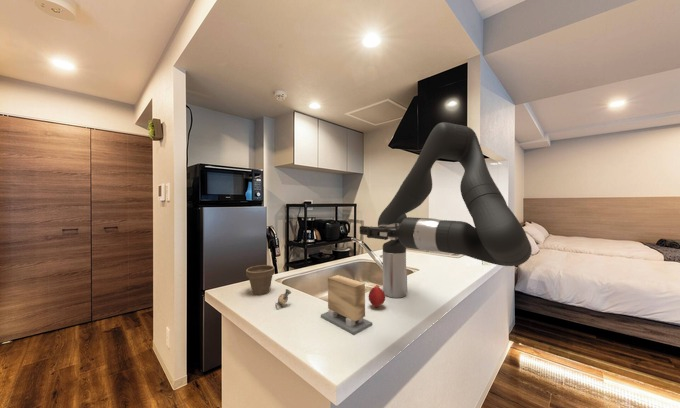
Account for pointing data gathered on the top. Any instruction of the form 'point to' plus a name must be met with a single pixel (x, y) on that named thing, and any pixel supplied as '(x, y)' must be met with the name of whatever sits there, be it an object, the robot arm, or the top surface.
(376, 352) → the top surface
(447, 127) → the robot arm
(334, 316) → the peg stand
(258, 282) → the flower pot
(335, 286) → the brown rectangular block
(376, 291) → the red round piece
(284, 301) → the vase
